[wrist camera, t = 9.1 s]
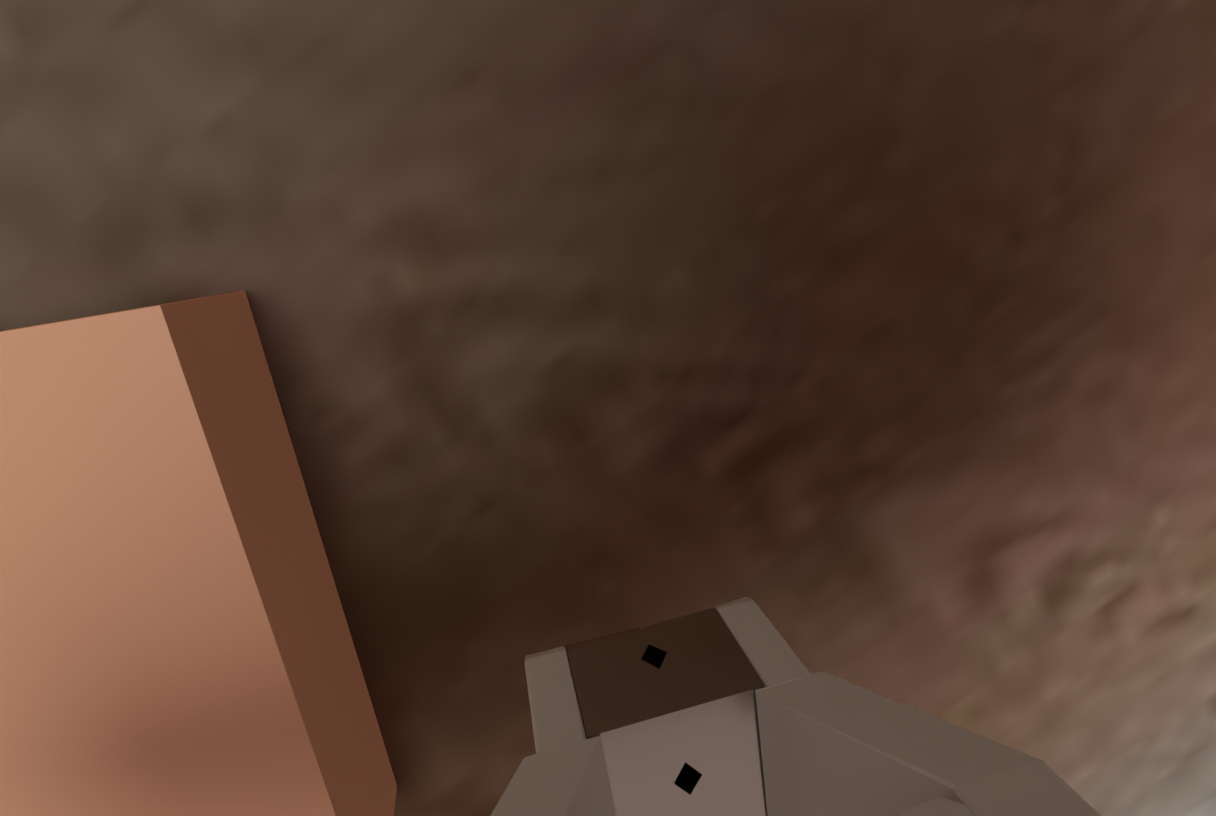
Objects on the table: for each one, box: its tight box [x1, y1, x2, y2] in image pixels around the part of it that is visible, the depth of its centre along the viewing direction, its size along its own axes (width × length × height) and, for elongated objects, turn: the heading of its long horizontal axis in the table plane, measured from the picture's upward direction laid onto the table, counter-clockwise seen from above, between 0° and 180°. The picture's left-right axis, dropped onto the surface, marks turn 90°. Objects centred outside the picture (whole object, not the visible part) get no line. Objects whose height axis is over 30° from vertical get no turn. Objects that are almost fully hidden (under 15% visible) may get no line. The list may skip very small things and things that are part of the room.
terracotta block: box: [0, 290, 397, 816], centre depth 12 cm, size 12×8×4 cm, turn 9°
